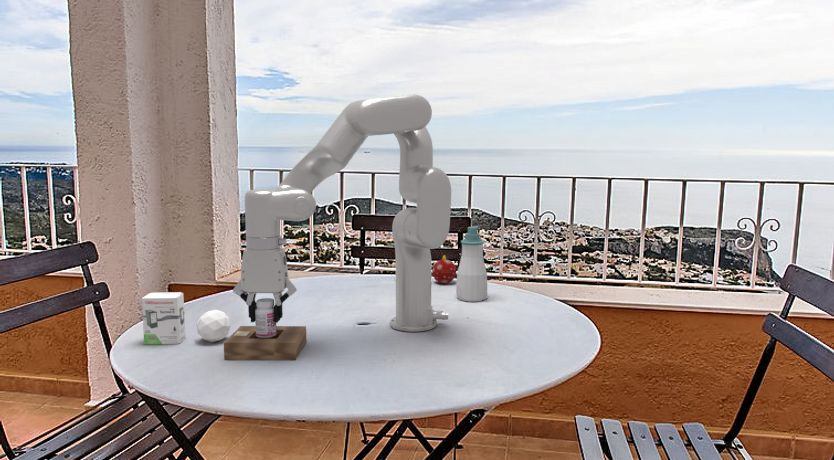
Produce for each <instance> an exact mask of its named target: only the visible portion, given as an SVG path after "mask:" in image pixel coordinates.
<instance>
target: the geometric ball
mask: <svg viewBox="0 0 834 460" xmlns="http://www.w3.org/2000/svg"><path fill="white" fill-rule="evenodd" d="M231 325H232V324H231V318H230V317H229V316H228V315H227V314H226V313H225V312H224V311H222V310H218V309H212V310H209V311H206V312H204V313H203V314H202V315H200V317H199V319H198V321H197V323H196V329H197V334H198V335H200V337H201V338H202V339H203V340H205V341H208V342H211V343H214V342H218V341H221V340H223V339H224V338H225V337H227V336H228V335H229V332H230V330H231Z"/></svg>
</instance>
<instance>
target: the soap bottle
mask: <svg viewBox="0 0 834 460" xmlns="http://www.w3.org/2000/svg"><path fill="white" fill-rule="evenodd" d="M480 227H481V226H480V225H474V226H468V227H467V232H466V233H465V234H464V236H465V237H464V238H463V239H462V240H460V243H461V256H460V260H459V264H458V265H459V266H458V269H457V271H456V284H455V285H456V287H455V288H456V294H455V296H456V297H457V299H458V300H460V301H463V302H470V303H474V302H482V300H483V301H485V300H486V299H487V297H488V273H487V268H486V265H485V261H484V251H483V250H484V249H483V247H484V243H485V241H484V240H483V239H481V235H480V233H479V232H478V229H480Z"/></svg>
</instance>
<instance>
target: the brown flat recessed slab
mask: <svg viewBox="0 0 834 460" xmlns="http://www.w3.org/2000/svg"><path fill="white" fill-rule="evenodd" d="M276 329H277V333H276V335H275V336H273V337H269V338H259V337H257V336H256V325H241V326H238V328H237V329H236V330H235V331H234V332H233V333H231V335H230V336H229V337H228V338H226V340H224V341H223V359H224V360H225V361H226V360H230V361H235V360H237V361H241V360H242V361H246V360H247V361H251V360H252V361H296V360H297V358H298V356H299V355H300V353H301V352H302V350H303V349H304V347H305V345H306V344H307V326H305V325H302V326H301V325H299V326H298V325H297V326H295V325H293V326H292V325H290V326H289V325H279V326H278V325H276Z"/></svg>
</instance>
